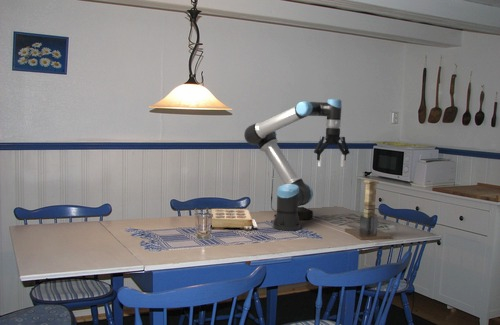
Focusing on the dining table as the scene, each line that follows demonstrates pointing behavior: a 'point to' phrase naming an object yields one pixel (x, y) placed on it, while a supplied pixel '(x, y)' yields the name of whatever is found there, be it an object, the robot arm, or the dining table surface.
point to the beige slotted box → (232, 219)
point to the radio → (299, 209)
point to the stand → (368, 229)
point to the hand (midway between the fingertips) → (331, 166)
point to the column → (370, 198)
